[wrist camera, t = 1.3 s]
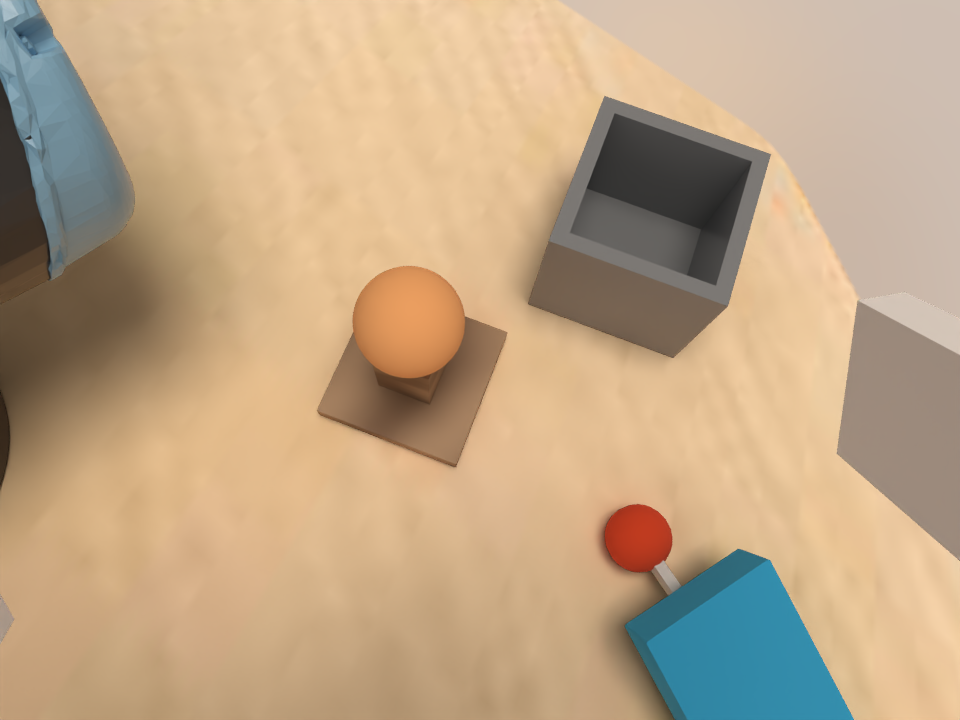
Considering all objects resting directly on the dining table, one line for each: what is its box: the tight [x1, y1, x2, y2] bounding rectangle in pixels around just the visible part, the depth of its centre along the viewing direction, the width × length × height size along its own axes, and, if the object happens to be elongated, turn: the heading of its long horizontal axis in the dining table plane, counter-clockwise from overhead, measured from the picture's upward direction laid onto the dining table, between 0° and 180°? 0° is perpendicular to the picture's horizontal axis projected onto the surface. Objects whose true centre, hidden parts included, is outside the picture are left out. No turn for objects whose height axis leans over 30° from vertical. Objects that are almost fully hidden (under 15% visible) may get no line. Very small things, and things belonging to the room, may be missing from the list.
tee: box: [317, 317, 507, 467], centre depth 36 cm, size 8×8×6 cm
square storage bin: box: [528, 96, 771, 358], centre depth 38 cm, size 9×9×8 cm
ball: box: [353, 266, 465, 378], centre depth 31 cm, size 5×5×5 cm
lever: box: [605, 504, 854, 720], centre depth 34 cm, size 7×7×18 cm
